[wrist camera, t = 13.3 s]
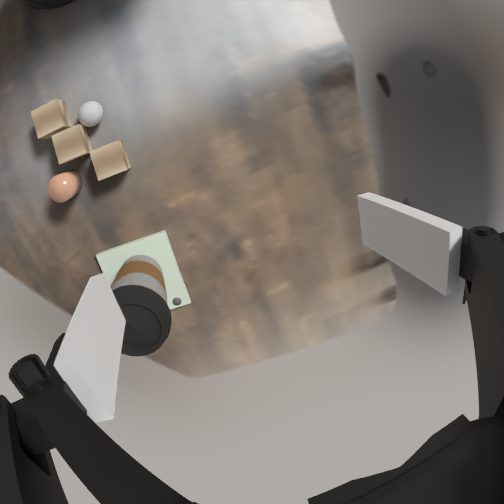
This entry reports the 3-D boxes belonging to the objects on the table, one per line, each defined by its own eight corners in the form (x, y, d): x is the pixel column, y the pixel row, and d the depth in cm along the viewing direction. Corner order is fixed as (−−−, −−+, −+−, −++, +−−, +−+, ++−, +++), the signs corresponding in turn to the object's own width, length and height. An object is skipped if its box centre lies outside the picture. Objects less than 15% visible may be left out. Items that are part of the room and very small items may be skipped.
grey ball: (79, 108, 36) (72, 105, 33) (102, 99, 37) (96, 95, 34) (85, 130, 38) (78, 130, 34) (108, 122, 38) (103, 120, 35)
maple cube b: (60, 136, 37) (51, 136, 33) (85, 125, 37) (78, 124, 34) (68, 162, 38) (59, 164, 35) (92, 151, 39) (85, 153, 35)
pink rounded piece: (56, 176, 38) (44, 180, 34) (78, 166, 39) (67, 170, 34) (64, 199, 40) (53, 206, 35) (85, 190, 40) (76, 196, 36)
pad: (96, 253, 44) (95, 255, 43) (165, 229, 45) (165, 231, 44) (127, 320, 48) (126, 323, 48) (190, 300, 50) (191, 303, 49)
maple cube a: (41, 113, 35) (30, 111, 31) (65, 101, 35) (56, 98, 32) (48, 138, 36) (38, 138, 33) (72, 126, 37) (63, 125, 33)
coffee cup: (145, 309, 48) (140, 371, 34) (103, 275, 44) (81, 330, 30) (181, 272, 47) (188, 326, 33) (138, 234, 44) (127, 278, 30)
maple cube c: (96, 150, 39) (89, 151, 35) (122, 140, 40) (117, 140, 36) (104, 177, 41) (98, 180, 37) (130, 167, 41) (126, 169, 38)
